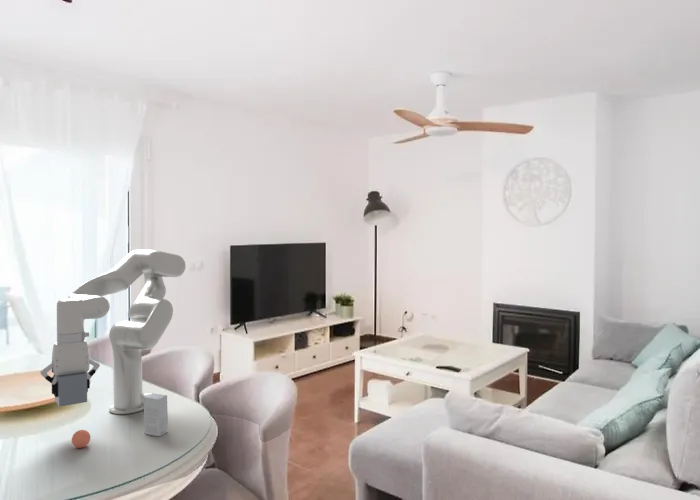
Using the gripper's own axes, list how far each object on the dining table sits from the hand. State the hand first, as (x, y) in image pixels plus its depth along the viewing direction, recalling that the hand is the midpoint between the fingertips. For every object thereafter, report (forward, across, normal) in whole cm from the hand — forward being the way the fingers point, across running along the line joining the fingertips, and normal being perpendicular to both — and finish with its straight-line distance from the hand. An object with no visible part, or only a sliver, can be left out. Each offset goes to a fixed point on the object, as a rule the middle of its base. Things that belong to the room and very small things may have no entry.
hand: (71, 393), depth 164 cm
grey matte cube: (+2, 0, 0) cm, 2 cm away
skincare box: (+13, -22, +14) cm, 29 cm away
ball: (+11, -1, +12) cm, 16 cm away
